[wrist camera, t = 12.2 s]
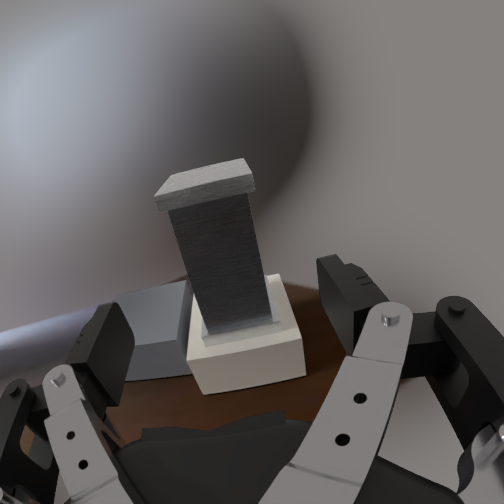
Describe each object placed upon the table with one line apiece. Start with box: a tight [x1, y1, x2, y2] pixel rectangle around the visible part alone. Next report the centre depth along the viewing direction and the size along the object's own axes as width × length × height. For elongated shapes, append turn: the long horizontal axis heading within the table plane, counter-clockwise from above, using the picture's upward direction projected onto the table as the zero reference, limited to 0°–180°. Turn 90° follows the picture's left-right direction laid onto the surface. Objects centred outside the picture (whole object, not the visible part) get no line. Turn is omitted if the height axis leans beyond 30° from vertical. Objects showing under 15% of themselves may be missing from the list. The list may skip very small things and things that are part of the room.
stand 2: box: [186, 274, 306, 395], centre depth 24 cm, size 8×9×4 cm
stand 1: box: [113, 280, 193, 381], centre depth 27 cm, size 8×9×4 cm
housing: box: [154, 158, 282, 347], centre depth 21 cm, size 6×6×11 cm
